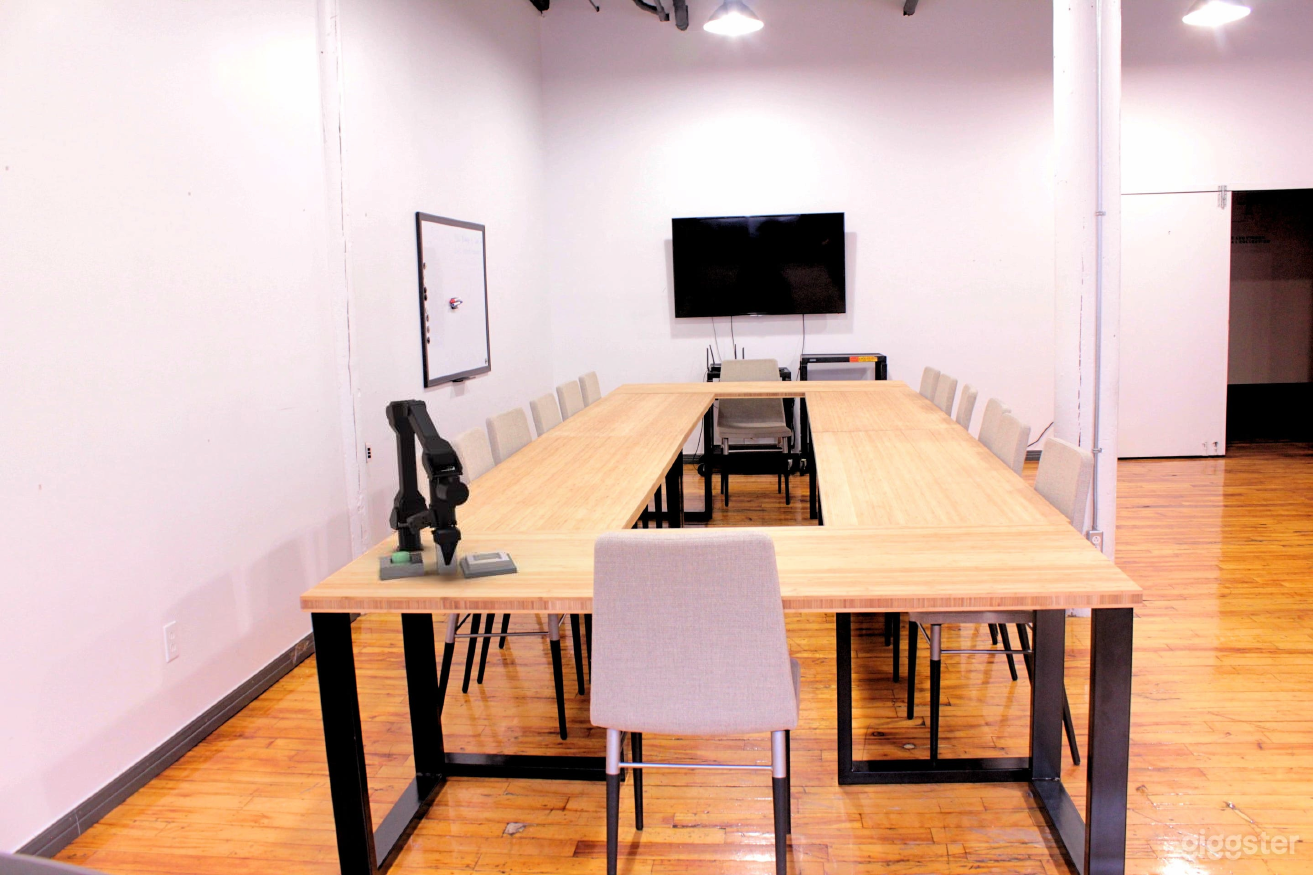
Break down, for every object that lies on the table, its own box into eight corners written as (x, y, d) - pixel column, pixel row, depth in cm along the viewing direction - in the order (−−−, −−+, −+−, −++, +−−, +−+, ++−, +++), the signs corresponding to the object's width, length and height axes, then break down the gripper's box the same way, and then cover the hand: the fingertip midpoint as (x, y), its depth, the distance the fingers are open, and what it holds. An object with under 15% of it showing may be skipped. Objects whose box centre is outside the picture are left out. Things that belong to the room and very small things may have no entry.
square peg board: (380, 569, 242) (379, 557, 241) (421, 564, 244) (421, 552, 244) (380, 579, 232) (379, 567, 232) (424, 575, 235) (423, 562, 234)
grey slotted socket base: (460, 563, 244) (459, 552, 244) (508, 557, 247) (507, 547, 247) (465, 578, 231) (464, 567, 230) (517, 572, 234) (516, 561, 234)
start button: (392, 568, 239) (391, 552, 239) (409, 566, 241) (408, 550, 240) (393, 572, 236) (392, 556, 235) (410, 571, 237) (409, 554, 236)
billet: (437, 569, 239) (434, 537, 238) (456, 567, 241) (453, 535, 239) (438, 574, 235) (436, 541, 234) (457, 572, 236) (455, 539, 235)
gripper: (405, 494, 242) (410, 556, 244) (409, 510, 224) (414, 576, 226) (452, 490, 245) (456, 551, 247) (459, 505, 227) (463, 571, 229)
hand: (446, 562), depth 237 cm, fingers closed on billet, 4 cm apart
